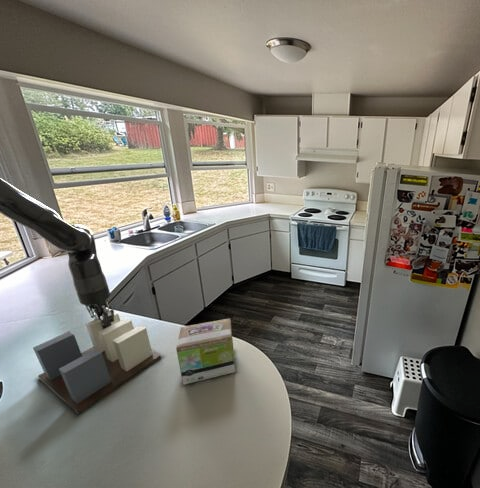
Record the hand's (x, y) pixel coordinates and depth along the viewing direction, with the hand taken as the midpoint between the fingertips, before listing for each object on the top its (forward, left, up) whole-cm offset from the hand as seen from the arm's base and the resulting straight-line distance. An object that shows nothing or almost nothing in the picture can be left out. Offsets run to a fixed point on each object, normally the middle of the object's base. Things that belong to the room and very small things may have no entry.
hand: (106, 330), depth 86 cm
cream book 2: (0, -8, -6) cm, 10 cm away
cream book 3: (0, -16, -6) cm, 17 cm away
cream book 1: (0, 0, -6) cm, 6 cm away
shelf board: (-6, -8, -7) cm, 12 cm away
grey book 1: (-12, 0, -6) cm, 13 cm away
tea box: (+10, -38, -8) cm, 40 cm away
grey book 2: (-12, -16, -6) cm, 21 cm away
